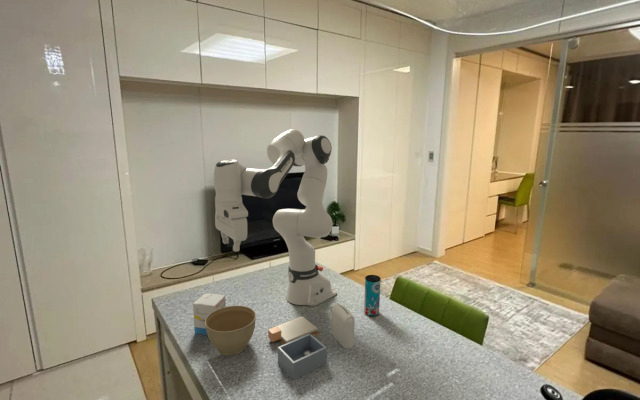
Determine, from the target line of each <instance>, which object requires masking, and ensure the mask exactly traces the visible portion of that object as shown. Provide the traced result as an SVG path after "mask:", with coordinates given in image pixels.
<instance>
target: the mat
mask: <svg viewBox="0 0 640 400" xmlns="http://www.w3.org/2000/svg"><path fill="white" fill-rule="evenodd" d="M309 334H311V335H312V336H313V337H315V338H316V336H319V335H321V334H322V333H321V332H320V331H319V330H318V329H317V330H316V331H314V332H312V333H309ZM307 335H308V334H307ZM304 336H305V335H304ZM302 337H303V336H302ZM300 338H301V337H300ZM297 339H298V338H297ZM295 340H296V339H295ZM278 341H279V342H280V343H281V345H284V344H286V342H285V341H284V340H283V339H282V338H281V339H279V340H278ZM290 342H291V341H290ZM288 343H289V342H288Z"/></svg>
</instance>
